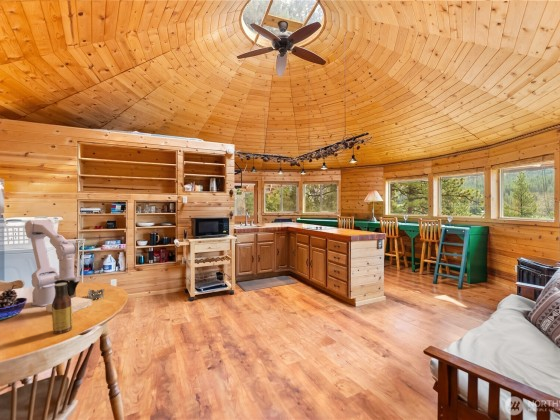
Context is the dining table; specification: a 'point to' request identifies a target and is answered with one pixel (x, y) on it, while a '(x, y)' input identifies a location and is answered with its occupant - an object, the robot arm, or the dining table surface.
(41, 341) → the dining table surface
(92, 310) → the dining table surface
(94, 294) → the egg carton
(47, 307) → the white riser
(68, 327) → the sauce bottle
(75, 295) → the walnut cube
